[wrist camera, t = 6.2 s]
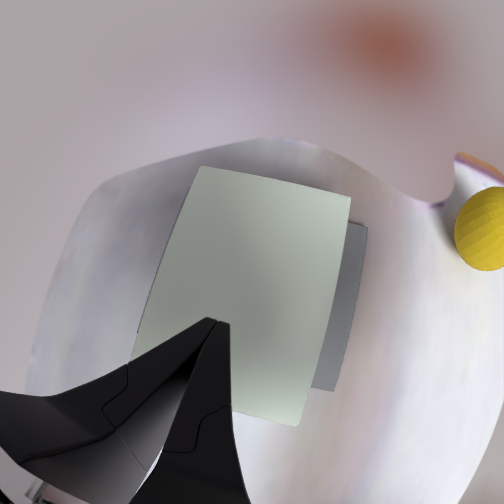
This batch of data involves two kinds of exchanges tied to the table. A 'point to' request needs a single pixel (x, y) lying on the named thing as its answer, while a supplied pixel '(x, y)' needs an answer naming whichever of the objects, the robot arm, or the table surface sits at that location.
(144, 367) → the robot arm
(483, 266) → the lemon
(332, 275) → the sage block
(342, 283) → the mat
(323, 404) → the table surface
